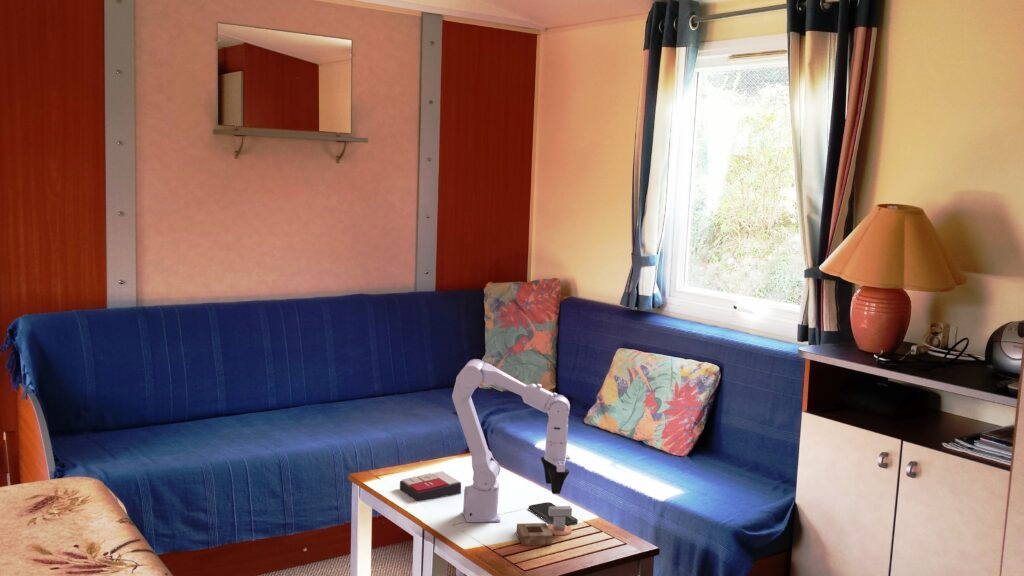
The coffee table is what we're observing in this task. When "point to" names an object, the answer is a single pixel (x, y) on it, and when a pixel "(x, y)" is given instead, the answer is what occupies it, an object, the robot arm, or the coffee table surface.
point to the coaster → (566, 532)
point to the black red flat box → (430, 486)
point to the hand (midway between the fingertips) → (552, 488)
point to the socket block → (534, 534)
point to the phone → (543, 512)
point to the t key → (559, 516)
